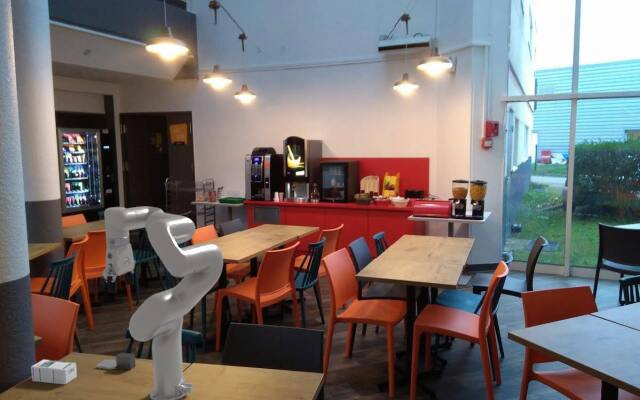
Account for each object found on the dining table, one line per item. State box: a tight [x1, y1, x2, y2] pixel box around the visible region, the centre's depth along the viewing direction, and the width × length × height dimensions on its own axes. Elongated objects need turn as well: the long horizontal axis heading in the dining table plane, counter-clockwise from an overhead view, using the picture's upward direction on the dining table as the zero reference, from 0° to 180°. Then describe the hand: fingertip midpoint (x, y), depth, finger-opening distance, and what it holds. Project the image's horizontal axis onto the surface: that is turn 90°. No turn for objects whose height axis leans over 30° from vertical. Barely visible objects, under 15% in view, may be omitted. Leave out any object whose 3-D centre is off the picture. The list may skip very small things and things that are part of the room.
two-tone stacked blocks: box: [96, 352, 136, 371], centre depth 178 cm, size 14×5×5 cm, turn 77°
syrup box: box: [30, 359, 78, 385], centre depth 169 cm, size 6×6×14 cm
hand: (121, 288), depth 167 cm, fingers open, 9 cm apart
